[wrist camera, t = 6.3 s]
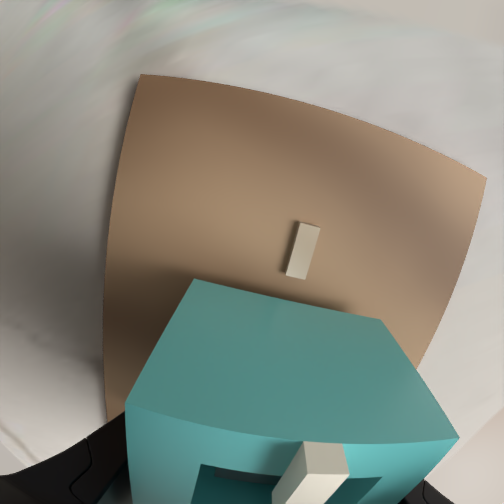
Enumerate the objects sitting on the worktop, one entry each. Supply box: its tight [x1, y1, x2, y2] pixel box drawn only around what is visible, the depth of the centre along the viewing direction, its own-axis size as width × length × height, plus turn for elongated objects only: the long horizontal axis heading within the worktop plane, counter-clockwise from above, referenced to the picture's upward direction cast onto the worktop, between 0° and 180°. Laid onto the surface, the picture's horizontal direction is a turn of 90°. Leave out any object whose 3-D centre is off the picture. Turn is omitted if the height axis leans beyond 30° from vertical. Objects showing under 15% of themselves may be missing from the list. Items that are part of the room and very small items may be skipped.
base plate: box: [103, 74, 487, 422], centre depth 11 cm, size 18×12×1 cm, turn 166°
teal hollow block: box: [125, 279, 459, 504], centre depth 7 cm, size 7×6×6 cm
